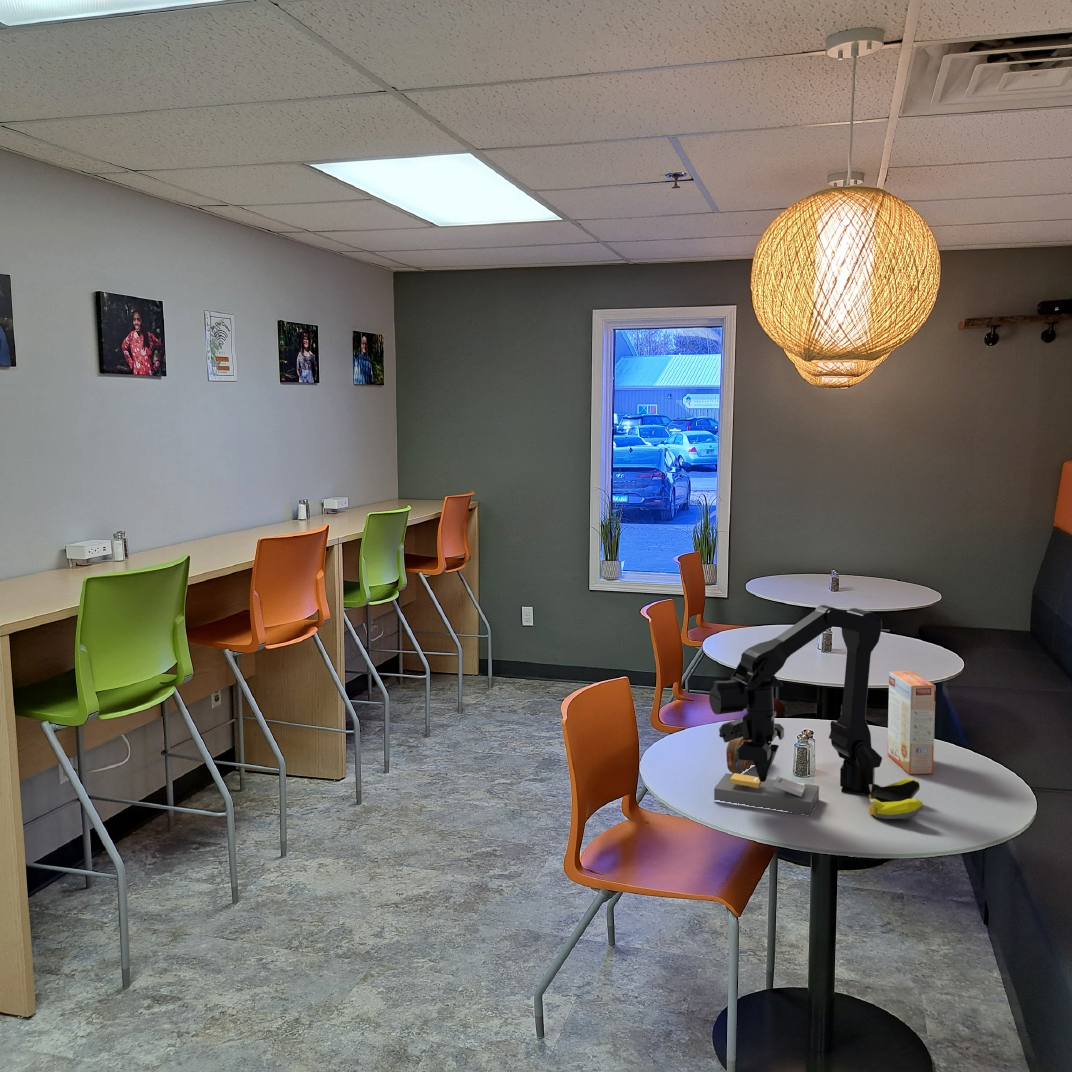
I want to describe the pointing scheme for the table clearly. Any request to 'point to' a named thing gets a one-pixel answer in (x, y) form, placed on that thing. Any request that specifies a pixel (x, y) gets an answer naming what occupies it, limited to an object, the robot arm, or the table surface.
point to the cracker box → (911, 722)
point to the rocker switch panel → (767, 796)
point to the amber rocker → (745, 780)
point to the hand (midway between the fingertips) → (762, 781)
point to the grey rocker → (789, 786)
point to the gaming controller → (895, 800)
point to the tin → (732, 761)
